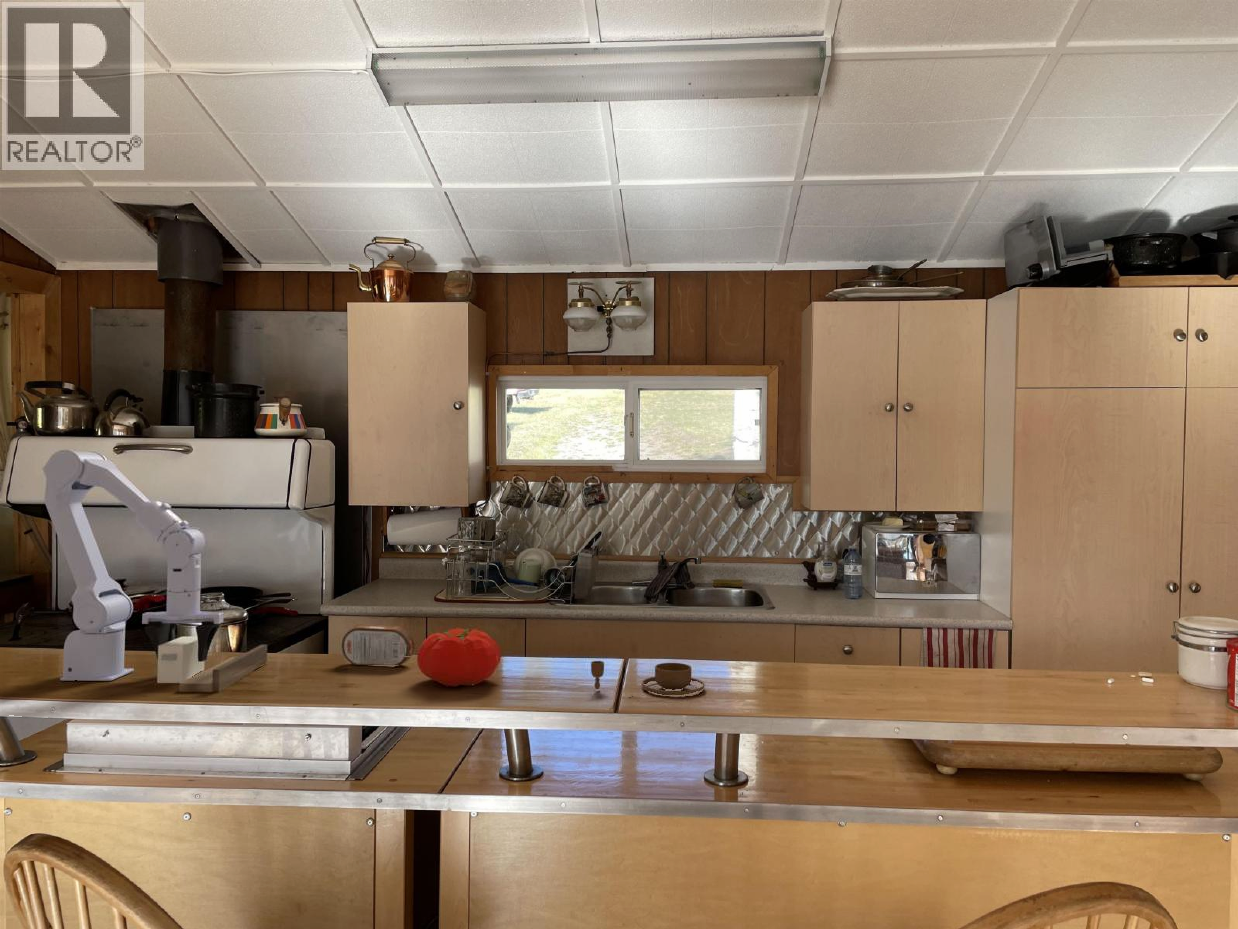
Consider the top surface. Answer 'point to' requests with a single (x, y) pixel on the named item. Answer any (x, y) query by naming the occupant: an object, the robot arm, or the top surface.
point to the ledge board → (226, 672)
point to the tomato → (459, 657)
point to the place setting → (659, 677)
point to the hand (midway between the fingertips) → (182, 660)
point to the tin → (377, 645)
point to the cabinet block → (178, 660)
